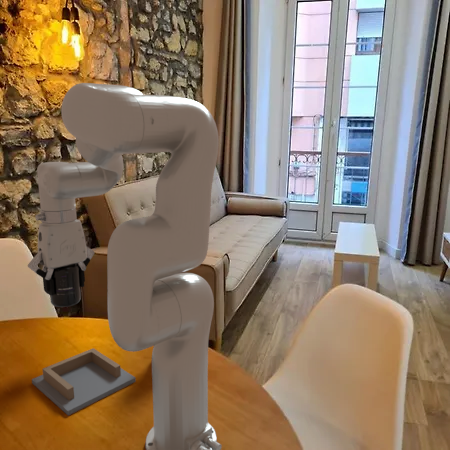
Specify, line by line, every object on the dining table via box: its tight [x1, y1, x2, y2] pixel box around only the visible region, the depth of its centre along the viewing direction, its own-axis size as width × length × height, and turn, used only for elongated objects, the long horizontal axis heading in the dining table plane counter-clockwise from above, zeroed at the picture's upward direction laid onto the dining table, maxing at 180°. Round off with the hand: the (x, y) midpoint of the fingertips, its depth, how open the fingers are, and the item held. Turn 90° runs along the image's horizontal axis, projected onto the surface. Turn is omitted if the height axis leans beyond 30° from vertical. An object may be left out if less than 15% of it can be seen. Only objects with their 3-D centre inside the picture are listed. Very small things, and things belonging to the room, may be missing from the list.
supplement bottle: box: [49, 264, 81, 308], centre depth 103 cm, size 7×7×12 cm
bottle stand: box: [31, 348, 137, 416], centre depth 96 cm, size 16×16×4 cm
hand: (65, 289), depth 104 cm, fingers closed on supplement bottle, 6 cm apart
